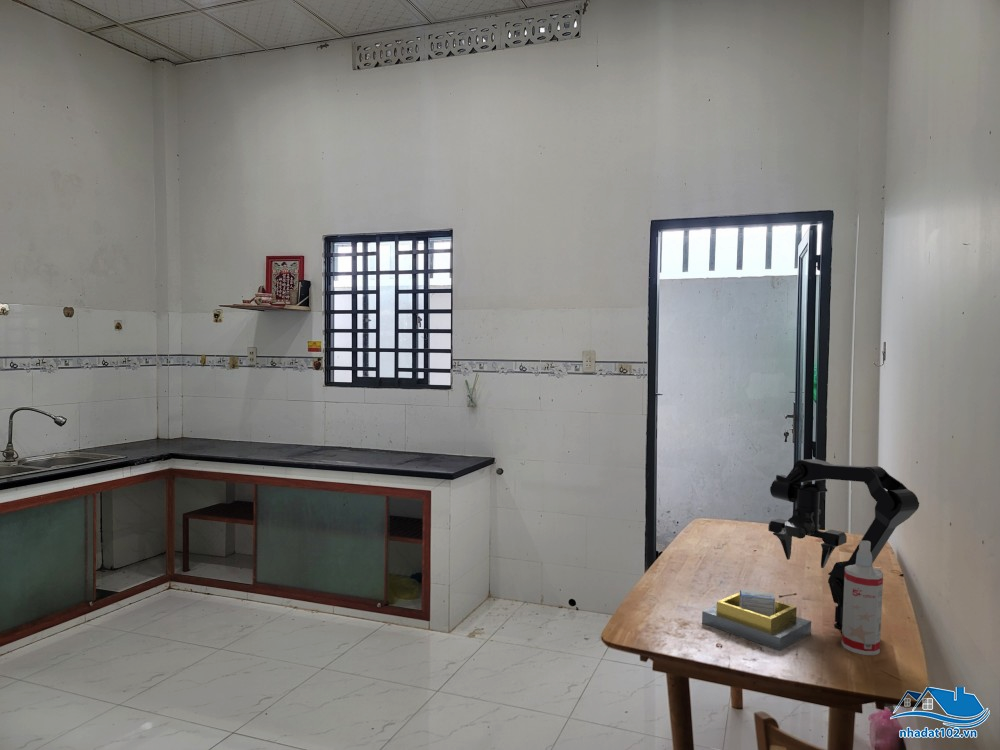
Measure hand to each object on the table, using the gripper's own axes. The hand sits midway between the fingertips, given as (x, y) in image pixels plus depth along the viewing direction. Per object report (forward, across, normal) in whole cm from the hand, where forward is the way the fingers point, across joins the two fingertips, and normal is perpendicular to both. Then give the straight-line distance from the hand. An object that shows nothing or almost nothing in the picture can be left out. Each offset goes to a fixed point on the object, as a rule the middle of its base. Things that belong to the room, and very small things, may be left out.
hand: (805, 563), depth 179 cm
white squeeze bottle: (+12, +20, -15) cm, 28 cm away
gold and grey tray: (+12, -1, -24) cm, 27 cm away
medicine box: (+12, -1, -24) cm, 27 cm away
